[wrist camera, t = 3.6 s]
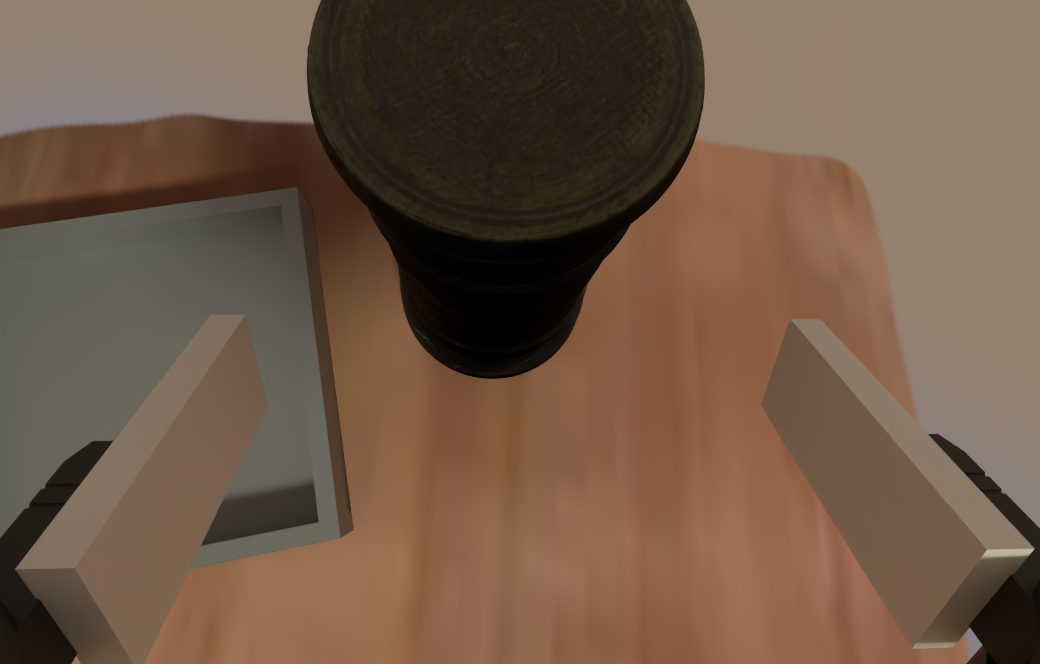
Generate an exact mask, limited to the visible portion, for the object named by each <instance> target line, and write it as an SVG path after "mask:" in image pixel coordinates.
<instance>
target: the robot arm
mask: <svg viewBox="0 0 1040 664" xmlns="http://www.w3.org/2000/svg"><path fill="white" fill-rule="evenodd" d="M761 406H762V408H763V409H764V411H765V412H766V414H767V416H768V417H769V419H770V420H771V422H772V424H773V425H774V427H775V429H776V430H777V432H778V433H779V435H780V437H781V438H782V440H783V441H784V443H785V445H786V446H787V448H788V449H789V451H790V453H791V454H792V456H793V458H794V459H795V461H796V462H797V464H798V466H799V467H800V469H801V470H802V472H803V474H804V475H805V477H806V478H807V480H808V482H809V483H810V485H811V487H812V488H813V490H814V491H815V493H816V495H817V496H818V498H819V499H820V501H821V503H822V504H823V506H824V507H825V509H826V511H827V512H828V514H829V516H830V517H831V519H832V520H833V522H834V524H835V525H836V527H837V528H838V530H839V532H840V533H841V535H842V536H843V538H844V540H845V541H846V543H847V545H848V546H849V548H850V549H851V551H852V553H853V554H854V556H855V557H856V559H857V561H858V562H859V564H860V565H861V567H862V569H863V570H864V572H865V574H866V575H867V577H868V578H869V580H870V582H871V583H872V585H873V586H874V588H875V590H876V591H877V593H878V594H879V596H880V598H881V599H882V601H883V603H884V604H885V606H886V607H887V609H888V611H889V612H890V614H891V615H892V617H893V619H894V620H895V622H896V623H897V625H898V627H899V628H900V630H901V632H902V633H903V635H904V636H905V638H906V640H907V641H908V643H909V644H910V646H911V648H912V649H913V648H945V647H954V646H955V644H956V643H957V642H958V641H959V640H960V638H961V637H962V636H963V635H964V633H965V632H966V631H967V630H968V629H969V627H970V628H971V629H972V631H973V632H974V634H975V635H976V636H977V638H978V639H979V641H980V642H981V643H982V647H981V648H980V649H979V650H978V651H977V652H976V654H975V655H974V656H973V657H972V658H971V659H970V660H969V661H968V663H967V664H1040V528H1039V527H1038V526H1037V525H1036V524H1035V523H1034V522H1033V521H1032V520H1031V519H1030V518H1029V517H1028V516H1027V515H1026V514H1025V513H1024V512H1023V511H1022V510H1021V509H1020V508H1019V507H1018V506H1017V505H1016V504H1015V503H1014V502H1013V501H1012V500H1011V499H1010V498H1009V497H1008V496H1007V495H1006V494H1002V492H1001V488H1000V487H999V486H998V485H997V484H995V482H993V480H992V479H991V478H990V477H986V476H985V472H984V471H983V470H982V469H981V468H980V467H979V466H978V465H977V464H976V463H975V462H974V461H973V460H972V459H971V458H970V457H969V456H968V455H967V453H965V452H964V451H963V450H961V449H960V448H958V447H957V446H955V445H954V444H952V443H951V442H949V441H948V440H946V439H944V438H943V437H942V436H940V435H939V434H927V433H926V432H925V431H924V430H923V429H922V428H921V426H920V425H919V424H918V423H917V422H916V421H915V420H914V419H913V418H912V417H911V416H910V415H909V414H908V413H907V411H906V410H905V409H904V408H903V407H902V406H901V405H900V404H899V403H898V402H897V401H896V400H895V399H894V398H893V396H892V395H891V394H890V393H889V392H888V391H887V390H886V389H885V388H884V387H883V386H882V385H881V384H880V383H879V381H878V380H877V379H876V378H875V377H874V376H873V375H872V374H871V373H870V372H869V371H868V370H867V369H866V368H865V366H864V365H863V364H862V363H861V362H860V361H859V360H858V359H857V358H856V357H855V356H854V355H853V354H852V353H851V351H850V350H849V349H848V348H847V347H846V346H845V345H844V344H843V343H842V342H841V341H840V340H839V339H838V338H837V336H836V335H835V334H834V333H833V332H832V331H831V330H830V329H829V328H828V327H827V326H826V325H825V324H824V323H823V321H822V320H821V319H790V322H789V325H788V328H787V331H786V334H785V337H784V339H783V342H782V345H781V348H780V351H779V354H778V357H777V360H776V362H775V365H774V368H773V371H772V374H771V377H770V380H769V383H768V385H767V388H766V391H765V394H764V397H763V400H762V403H761ZM267 408H268V403H267V399H266V395H265V391H264V387H263V383H262V379H261V375H260V371H259V368H258V364H257V360H256V356H255V352H254V348H253V344H252V340H251V336H250V332H249V328H248V324H247V321H246V317H245V315H210V316H209V318H208V319H207V320H206V322H205V323H204V324H203V326H202V327H201V328H200V329H199V331H198V332H197V333H196V335H195V336H194V337H193V339H192V340H191V341H190V342H189V344H188V345H187V346H186V348H185V349H184V350H183V352H182V353H181V354H180V355H179V357H178V358H177V359H176V361H175V362H174V363H173V365H172V366H171V367H170V368H169V370H168V371H167V372H166V374H165V375H164V376H163V378H162V379H161V380H160V381H159V383H158V384H157V385H156V387H155V388H154V389H153V391H152V392H151V393H150V394H149V396H148V397H147V398H146V400H145V401H144V402H143V404H142V405H141V406H140V407H139V409H138V410H137V411H136V413H135V414H134V415H133V417H132V418H131V419H130V420H129V422H128V423H127V424H126V426H125V427H124V428H123V430H122V431H121V432H120V433H119V435H118V436H117V437H116V439H115V440H114V441H92V442H91V443H89V444H88V445H86V446H85V447H83V448H82V449H81V450H79V451H78V452H76V453H75V454H74V455H72V456H71V457H69V458H68V459H67V460H65V461H64V462H63V463H62V465H61V466H60V467H59V468H58V469H57V471H56V472H55V473H54V474H53V475H52V477H51V478H50V479H49V480H48V481H47V483H46V484H45V488H44V489H41V490H40V491H39V492H38V493H37V494H36V496H35V497H34V498H33V499H32V500H31V502H30V503H29V508H25V509H24V510H23V511H22V512H21V514H20V515H19V516H18V517H17V518H16V520H15V521H14V522H13V523H12V524H11V526H10V527H9V528H8V529H7V530H6V532H5V533H4V534H3V535H2V536H1V538H0V664H71V663H72V662H73V660H74V658H75V657H76V656H77V658H78V659H79V660H80V662H81V663H82V664H144V662H145V660H146V658H147V656H148V654H149V652H150V650H151V648H152V646H153V644H154V642H155V639H156V637H157V635H158V633H159V631H160V629H161V627H162V625H163V623H164V621H165V619H166V617H167V615H168V613H169V611H170V608H171V606H172V604H173V602H174V600H175V598H176V596H177V594H178V592H179V590H180V588H181V586H182V584H183V582H184V579H185V577H186V575H187V573H188V571H189V569H190V567H191V565H192V563H193V561H194V559H195V557H196V555H197V553H198V550H199V548H200V546H201V544H202V542H203V540H204V538H205V536H206V534H207V532H208V530H209V528H210V526H211V524H212V522H213V519H214V517H215V515H216V513H217V511H218V509H219V507H220V505H221V503H222V501H223V499H224V497H225V495H226V493H227V490H228V488H229V486H230V484H231V482H232V480H233V478H234V476H235V474H236V472H237V470H238V468H239V466H240V464H241V462H242V459H243V457H244V455H245V453H246V451H247V449H248V447H249V445H250V443H251V441H252V439H253V437H254V435H255V433H256V430H257V428H258V426H259V424H260V422H261V420H262V418H263V416H264V414H265V412H266V410H267Z"/></svg>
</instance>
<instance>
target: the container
mask: <svg viewBox="0 0 1040 664" xmlns="http://www.w3.org/2000/svg"><path fill="white" fill-rule="evenodd" d="M704 77H705V75H704V58H703V51H702V45H701V39H700V36H699V32H698V28H697V25H696V22H695V19H694V17H693V14H692V11H691V9H690V7H689V5H688V3H687V1H686V0H321V2H320V4H319V7H318V10H317V13H316V16H315V19H314V22H313V27H312V31H311V36H310V42H309V46H308V59H307V83H308V95H309V102H310V108H311V113H312V117H313V121H314V124H315V128H316V130H317V133H318V136H319V138H320V141H321V143H322V145H323V147H324V150H325V152H326V154H327V155H328V157H329V159H330V161H331V163H332V164H333V166H334V168H335V169H336V170H337V172H338V173H339V175H340V176H341V178H342V179H343V180H344V182H345V183H346V184H347V186H348V187H349V188H350V189H351V190H352V191H353V193H354V194H355V195H356V196H357V197H358V198H359V199H360V200H361V201H362V202H363V203H364V204H365V205H366V206H367V207H368V209H369V211H370V214H371V216H372V218H373V220H374V222H375V223H376V225H377V227H378V228H379V230H380V232H381V233H382V235H383V236H384V237H385V239H386V240H387V241H388V243H389V245H390V248H391V250H392V252H393V255H394V257H395V259H396V261H397V263H398V267H399V274H400V286H401V294H402V300H403V306H404V311H405V315H406V318H407V320H408V323H409V325H410V328H411V330H412V332H413V333H414V335H415V337H416V338H417V340H418V341H419V342H420V344H421V345H422V346H423V347H424V348H425V349H426V351H427V352H428V353H429V354H431V355H432V356H433V357H434V358H435V359H436V360H438V361H439V362H440V363H442V364H443V365H445V366H447V367H449V368H450V369H452V370H455V371H457V372H459V373H462V374H465V375H468V376H473V377H478V378H486V379H498V378H507V377H512V376H516V375H520V374H523V373H525V372H528V371H530V370H532V369H534V368H536V367H538V366H540V365H541V364H543V363H544V362H546V361H547V360H548V359H550V358H551V357H552V356H553V355H554V354H555V353H556V352H557V351H558V350H559V349H560V348H561V346H562V345H563V344H564V343H565V341H566V340H567V338H568V337H569V335H570V333H571V331H572V329H573V327H574V325H575V322H576V320H577V318H578V315H579V313H580V310H581V306H582V302H583V297H584V294H585V292H586V288H587V285H588V283H589V281H590V279H591V278H592V276H593V275H594V273H595V272H596V270H597V269H598V268H599V266H600V264H601V263H602V261H603V260H604V259H605V258H606V257H607V256H608V255H609V254H610V253H611V252H612V251H613V249H614V248H615V247H616V246H617V244H618V243H619V242H620V240H621V239H622V238H623V236H624V235H625V233H626V231H627V230H628V228H629V226H630V224H631V223H633V222H634V221H635V220H636V219H638V218H639V217H640V216H641V215H643V214H644V213H645V212H646V211H647V210H648V209H649V208H650V207H652V206H653V205H654V204H655V203H656V202H657V201H658V200H659V198H660V197H661V196H662V195H663V194H664V193H665V191H666V190H667V189H668V188H669V186H670V185H671V184H672V182H673V181H674V180H675V178H676V176H677V175H678V173H679V172H680V170H681V168H682V167H683V165H684V163H685V161H686V159H687V157H688V155H689V153H690V150H691V148H692V146H693V143H694V140H695V137H696V134H697V131H698V127H699V122H700V117H701V113H702V109H703V100H704V87H705V85H704V84H705V78H704Z"/></svg>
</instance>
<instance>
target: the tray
mask: <svg viewBox="0 0 1040 664" xmlns="http://www.w3.org/2000/svg"><path fill="white" fill-rule="evenodd" d="M210 315H245V317H246V321H247V324H248V328H249V332H250V336H251V340H252V344H253V348H254V352H255V356H256V360H257V364H258V368H259V371H260V375H261V379H262V383H263V387H264V391H265V395H266V399H267V403H268V408H267V410H266V412H265V414H264V416H263V418H262V420H261V422H260V424H259V426H258V428H257V430H256V433H255V435H254V437H253V439H252V441H251V443H250V445H249V447H248V449H247V451H246V453H245V455H244V457H243V459H242V462H241V464H240V466H239V468H238V470H237V472H236V474H235V476H234V478H233V480H232V482H231V484H230V486H229V488H228V490H227V493H226V495H225V497H224V499H223V501H222V503H221V505H220V507H219V509H218V511H217V513H216V515H215V517H214V519H213V522H212V524H211V526H210V528H209V530H208V532H207V534H206V536H205V538H204V540H203V542H202V544H201V546H200V548H199V550H198V553H197V555H196V557H195V559H194V561H193V563H192V565H191V567H190V569H191V568H196V567H201V566H206V565H211V564H216V563H221V562H226V561H231V560H235V559H240V558H245V557H250V556H255V555H260V554H265V553H270V552H275V551H279V550H284V549H289V548H294V547H299V546H304V545H309V544H314V543H319V542H323V541H328V540H333V539H338V538H341V537H343V536H345V535H346V534H348V533H349V532H351V531H353V524H352V516H351V508H350V500H349V493H348V485H347V477H346V469H345V461H344V454H343V446H342V438H341V430H340V423H339V415H338V407H337V399H336V392H335V384H334V376H333V368H332V360H331V353H330V345H329V337H328V329H327V322H326V314H325V306H324V298H323V290H322V283H321V275H320V267H319V259H318V252H317V244H316V236H315V228H314V221H313V213H312V208H311V207H310V205H309V204H308V203H307V201H306V200H305V198H304V197H303V195H302V194H301V192H300V191H299V190H298V188H297V187H294V188H287V189H280V190H273V191H265V192H258V193H251V194H244V195H237V196H230V197H223V198H216V199H209V200H202V201H195V202H188V203H181V204H174V205H166V206H159V207H152V208H145V209H138V210H131V211H124V212H117V213H110V214H103V215H96V216H89V217H82V218H75V219H68V220H60V221H53V222H46V223H39V224H32V225H25V226H18V227H11V228H4V229H0V538H1V536H2V535H3V534H4V533H5V532H6V530H7V529H8V528H9V527H10V526H11V524H12V523H13V522H14V521H15V520H16V518H17V517H18V516H19V515H20V514H21V512H22V511H23V510H24V509H25V508H29V503H30V502H31V500H32V499H33V498H34V497H35V496H36V494H37V493H38V492H39V491H40V490H41V489H44V488H45V484H46V483H47V481H48V480H49V479H50V478H51V477H52V475H53V474H54V473H55V472H56V471H57V469H58V468H59V467H60V466H61V465H62V463H63V462H64V461H65V460H67V459H68V458H69V457H71V456H72V455H74V454H75V453H76V452H78V451H79V450H81V449H82V448H83V447H85V446H86V445H88V444H89V443H91V442H92V441H114V440H115V439H116V437H117V436H118V435H119V433H120V432H121V431H122V430H123V428H124V427H125V426H126V424H127V423H128V422H129V420H130V419H131V418H132V417H133V415H134V414H135V413H136V411H137V410H138V409H139V407H140V406H141V405H142V404H143V402H144V401H145V400H146V398H147V397H148V396H149V394H150V393H151V392H152V391H153V389H154V388H155V387H156V385H157V384H158V383H159V381H160V380H161V379H162V378H163V376H164V375H165V374H166V372H167V371H168V370H169V368H170V367H171V366H172V365H173V363H174V362H175V361H176V359H177V358H178V357H179V355H180V354H181V353H182V352H183V350H184V349H185V348H186V346H187V345H188V344H189V342H190V341H191V340H192V339H193V337H194V336H195V335H196V333H197V332H198V331H199V329H200V328H201V327H202V326H203V324H204V323H205V322H206V320H207V319H208V318H209V316H210Z"/></svg>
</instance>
